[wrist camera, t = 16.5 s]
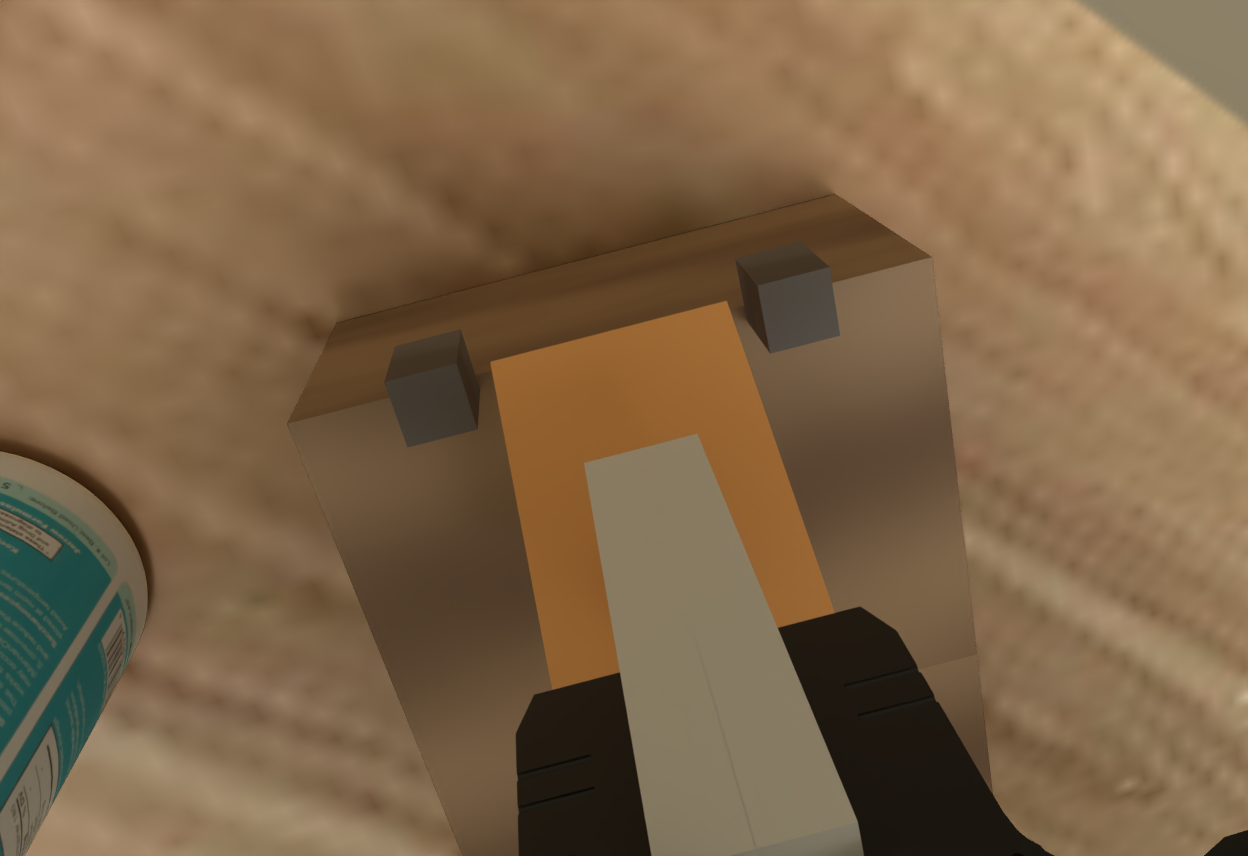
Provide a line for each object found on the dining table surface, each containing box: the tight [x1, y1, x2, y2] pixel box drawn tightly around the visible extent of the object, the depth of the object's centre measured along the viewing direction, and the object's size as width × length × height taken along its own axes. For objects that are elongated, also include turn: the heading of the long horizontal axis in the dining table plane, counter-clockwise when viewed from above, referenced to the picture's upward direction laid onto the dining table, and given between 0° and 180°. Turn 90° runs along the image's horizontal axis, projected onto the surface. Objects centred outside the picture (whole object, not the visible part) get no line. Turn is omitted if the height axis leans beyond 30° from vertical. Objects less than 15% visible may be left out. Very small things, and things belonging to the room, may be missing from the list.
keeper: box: [490, 301, 835, 690], centre depth 16 cm, size 6×4×1 cm
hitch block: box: [287, 194, 993, 856], centre depth 24 cm, size 17×12×8 cm
